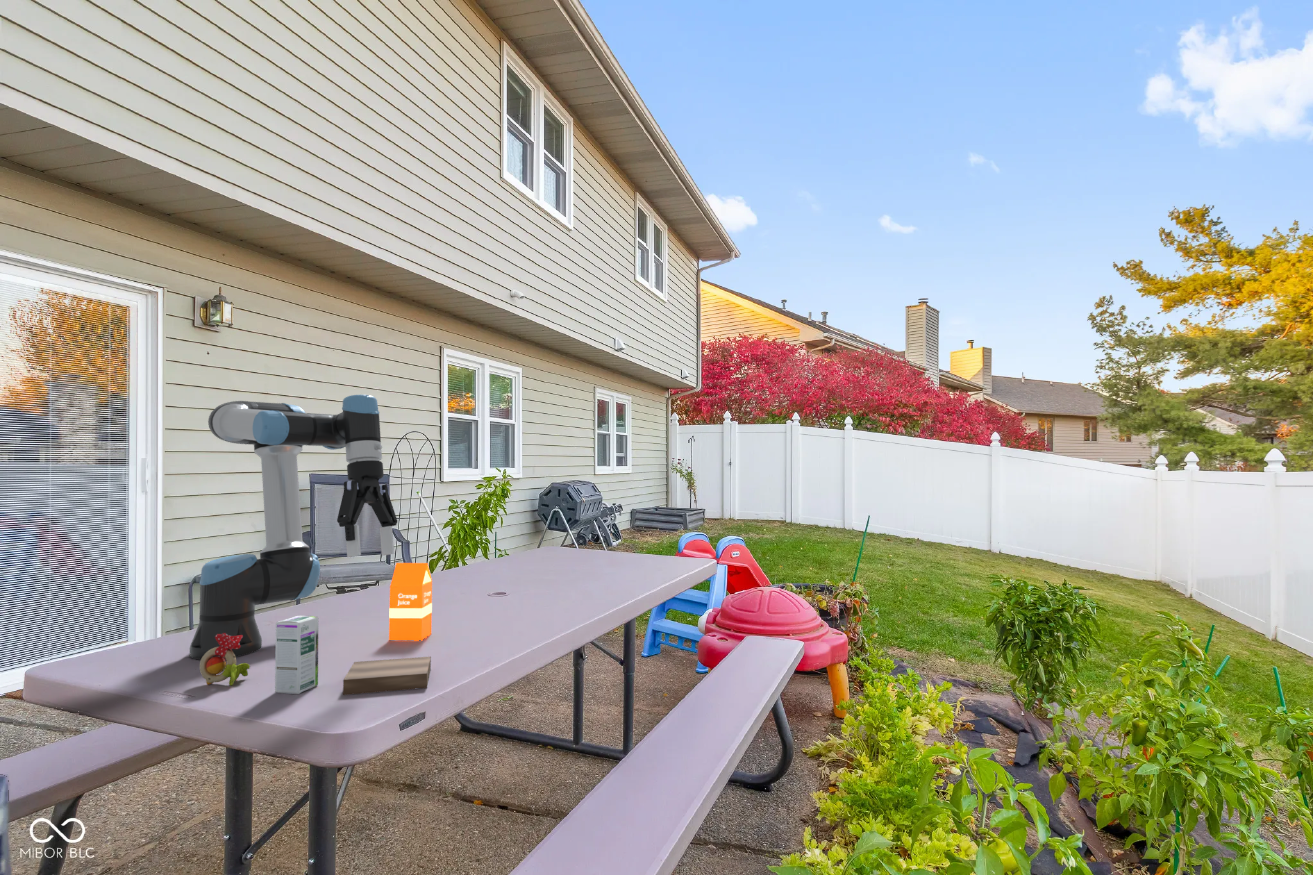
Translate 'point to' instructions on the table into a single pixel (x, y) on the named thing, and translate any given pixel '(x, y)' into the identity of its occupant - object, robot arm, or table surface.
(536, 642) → the table surface
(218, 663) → the bird rattle
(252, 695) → the table surface
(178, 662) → the table surface
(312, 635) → the syrup box
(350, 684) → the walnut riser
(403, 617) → the orange juice
